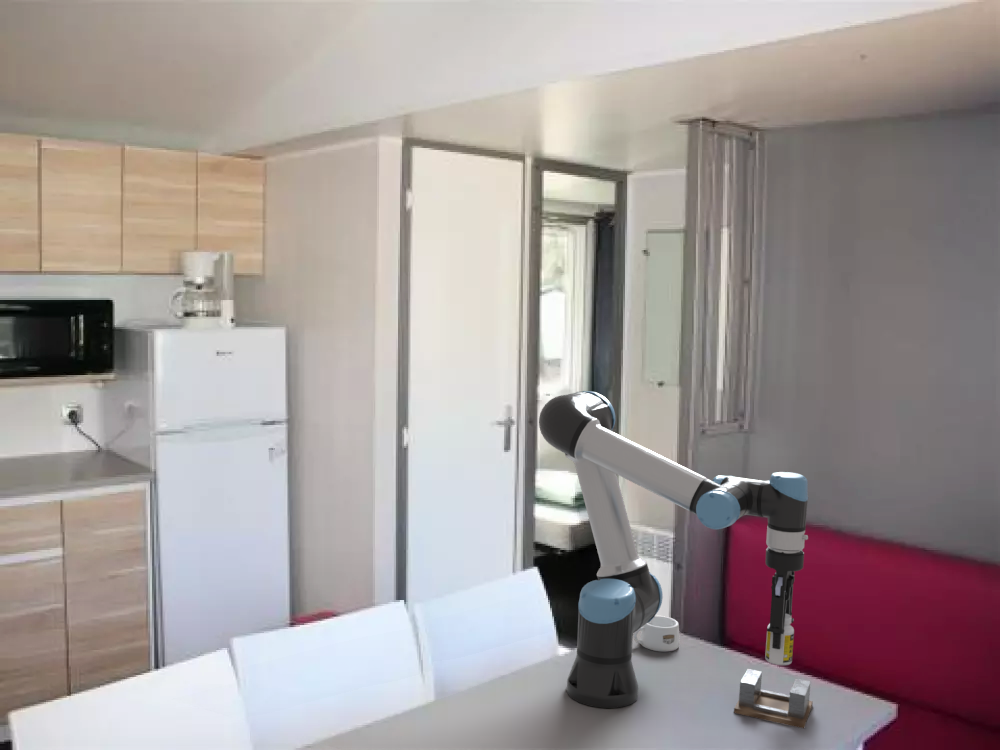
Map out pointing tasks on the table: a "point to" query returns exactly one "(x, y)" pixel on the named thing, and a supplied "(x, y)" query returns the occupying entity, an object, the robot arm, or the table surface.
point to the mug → (659, 634)
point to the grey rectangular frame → (774, 695)
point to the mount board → (772, 717)
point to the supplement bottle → (787, 642)
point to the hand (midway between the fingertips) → (778, 657)
